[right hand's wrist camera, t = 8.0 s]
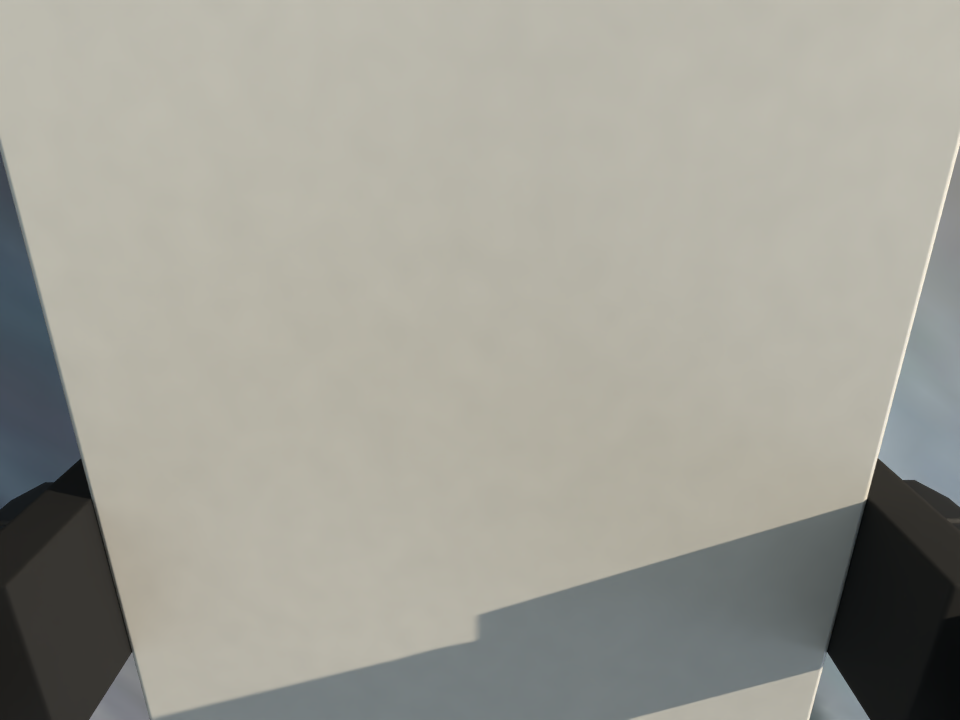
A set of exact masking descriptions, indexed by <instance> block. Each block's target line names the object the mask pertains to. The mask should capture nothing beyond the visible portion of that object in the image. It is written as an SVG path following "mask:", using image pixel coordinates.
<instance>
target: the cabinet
mask: <svg viewBox="0 0 960 720" xmlns="http://www.w3.org/2000/svg"><path fill="white" fill-rule="evenodd" d="M959 145H960V0H0V152H1V155H2V159H3V163H4V167H5V171H6V174H7V178H8V182H9V186H10V190H11V193H12V197H13V201H14V205H15V209H16V212H17V216H18V220H19V224H20V228H21V231H22V235H23V239H24V243H25V247H26V250H27V254H28V258H29V262H30V266H31V269H32V273H33V277H34V281H35V285H36V288H37V292H38V296H39V300H40V304H41V307H42V311H43V315H44V319H45V323H46V326H47V330H48V334H49V338H50V342H51V345H52V349H53V353H54V357H55V361H56V364H57V368H58V372H59V376H60V380H61V383H62V387H63V391H64V395H65V399H66V402H67V406H68V410H69V414H70V418H71V421H72V425H73V429H74V433H75V437H76V440H77V444H78V448H79V452H80V456H81V459H82V463H83V467H84V471H85V475H86V478H87V482H88V486H89V490H90V494H91V497H92V501H93V505H94V509H95V513H96V516H97V520H98V524H99V528H100V532H101V535H102V539H103V543H104V547H105V551H106V554H107V558H108V562H109V566H110V570H111V573H112V577H113V581H114V585H115V589H116V592H117V596H118V600H119V604H120V608H121V611H122V615H123V619H124V623H125V627H126V630H127V634H128V638H129V642H130V646H131V649H132V653H133V657H134V661H135V665H136V668H137V672H138V676H139V680H140V684H141V687H142V691H143V695H144V699H145V703H146V706H147V710H148V714H149V718H150V720H809V718H810V714H811V710H812V706H813V703H814V699H815V695H816V691H817V687H818V683H819V680H820V676H821V672H822V668H823V664H824V661H825V657H826V653H827V649H828V645H829V641H830V638H831V634H832V630H833V626H834V622H835V619H836V615H837V611H838V607H839V603H840V599H841V596H842V592H843V588H844V584H845V580H846V577H847V573H848V569H849V565H850V561H851V557H852V554H853V550H854V546H855V542H856V538H857V534H858V531H859V527H860V523H861V519H862V515H863V512H864V508H865V504H866V500H867V496H868V492H869V489H870V485H871V481H872V477H873V473H874V470H875V466H876V462H877V458H878V454H879V450H880V447H881V443H882V439H883V435H884V431H885V428H886V424H887V420H888V416H889V412H890V408H891V405H892V401H893V397H894V393H895V389H896V386H897V382H898V378H899V374H900V370H901V366H902V363H903V359H904V355H905V351H906V347H907V344H908V340H909V336H910V332H911V328H912V324H913V321H914V317H915V313H916V309H917V305H918V302H919V298H920V294H921V290H922V286H923V282H924V279H925V275H926V271H927V267H928V263H929V260H930V256H931V252H932V248H933V244H934V240H935V237H936V233H937V229H938V225H939V221H940V218H941V214H942V210H943V206H944V202H945V198H946V195H947V191H948V187H949V183H950V179H951V176H952V172H953V168H954V164H955V160H956V156H957V153H958V149H959Z"/></svg>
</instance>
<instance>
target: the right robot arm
mask: <svg viewBox="0 0 960 720" xmlns="http://www.w3.org/2000/svg"><path fill="white" fill-rule="evenodd" d="M827 652H828V654H829V655H830V657H831V659H832V660H833V662H834V663H835V665H836V666H837V668H838V670H839V671H840V673H841V674H842V676H843V677H844V679H845V681H846V682H847V684H848V685H849V687H850V688H851V690H852V692H853V693H854V695H855V696H856V698H857V699H858V701H859V703H860V704H861V706H862V707H863V709H864V711H865V712H866V714H867V715H868V717H869V718H870V720H960V507H959V506H957V505H956V504H955V503H954V502H953V501H951V500H950V499H949V498H947V497H946V496H944V495H942V494H940V493H938V492H936V491H934V490H932V489H930V488H929V487H927V486H925V485H923V484H921V483H919V482H917V481H915V480H902V479H901V478H900V477H898V476H897V475H896V474H895V473H894V472H893V471H892V470H891V469H889V468H888V467H887V466H886V465H885V464H884V463H883V462H882V461H880V460H879V459H878V458H877V462H876V466H875V470H874V473H873V477H872V481H871V485H870V489H869V492H868V496H867V500H866V504H865V508H864V512H863V515H862V519H861V523H860V527H859V531H858V534H857V538H856V542H855V546H854V550H853V554H852V557H851V561H850V565H849V569H848V573H847V577H846V580H845V584H844V588H843V592H842V596H841V599H840V603H839V607H838V611H837V615H836V619H835V622H834V626H833V630H832V634H831V638H830V641H829V645H828V649H827ZM131 653H132V649H131V646H130V642H129V638H128V634H127V630H126V627H125V623H124V619H123V615H122V611H121V608H120V604H119V600H118V596H117V592H116V589H115V585H114V581H113V577H112V573H111V570H110V566H109V562H108V558H107V554H106V551H105V547H104V543H103V539H102V535H101V532H100V528H99V524H98V520H97V516H96V513H95V509H94V505H93V501H92V497H91V494H90V490H89V486H88V482H87V478H86V475H85V471H84V467H83V463H82V459H80V460H79V461H78V462H77V463H75V464H74V465H73V466H72V467H71V468H70V469H69V470H68V471H66V472H65V473H64V474H63V475H62V476H61V477H60V478H59V479H57V480H56V481H55V482H45V483H43V484H41V485H39V486H37V487H36V488H34V489H32V490H30V491H28V492H26V493H24V494H22V495H21V496H19V497H17V498H15V499H13V500H11V501H10V502H9V503H8V504H6V505H5V506H4V507H3V508H2V509H0V720H89V719H90V717H91V716H92V714H93V713H94V711H95V709H96V708H97V706H98V705H99V703H100V702H101V700H102V698H103V697H104V695H105V694H106V692H107V691H108V689H109V687H110V686H111V684H112V683H113V681H114V680H115V678H116V676H117V675H118V673H119V672H120V670H121V668H122V667H123V665H124V664H125V662H126V661H127V659H128V657H129V656H130V654H131Z"/></svg>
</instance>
